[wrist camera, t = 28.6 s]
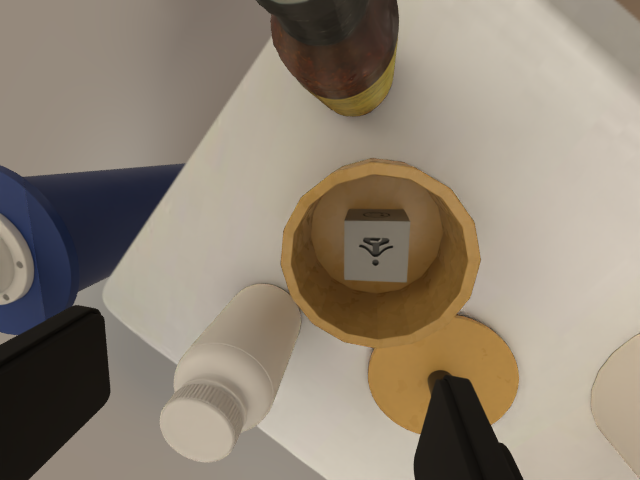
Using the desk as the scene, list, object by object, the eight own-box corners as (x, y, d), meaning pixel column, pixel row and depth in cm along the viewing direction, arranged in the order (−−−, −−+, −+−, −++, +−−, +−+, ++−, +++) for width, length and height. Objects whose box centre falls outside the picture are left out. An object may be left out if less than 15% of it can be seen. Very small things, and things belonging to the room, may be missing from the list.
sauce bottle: (407, 62, 26) (497, -158, 7) (365, 132, 28) (352, 101, 9) (338, 20, 26) (252, -314, 7) (302, 93, 28) (158, -20, 9)
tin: (298, 284, 33) (274, 328, 25) (312, 150, 29) (290, 151, 21) (431, 308, 32) (452, 363, 24) (465, 169, 28) (504, 178, 20)
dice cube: (403, 209, 29) (410, 221, 24) (401, 261, 30) (406, 282, 26) (348, 208, 30) (344, 220, 25) (348, 259, 31) (344, 279, 26)
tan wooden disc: (358, 412, 36) (355, 473, 30) (380, 298, 32) (383, 339, 25) (491, 441, 35) (520, 513, 28) (533, 325, 31) (580, 376, 24)
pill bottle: (248, 353, 37) (170, 484, 22) (221, 290, 35) (118, 390, 21) (313, 339, 35) (272, 473, 21) (288, 273, 33) (225, 369, 19)
